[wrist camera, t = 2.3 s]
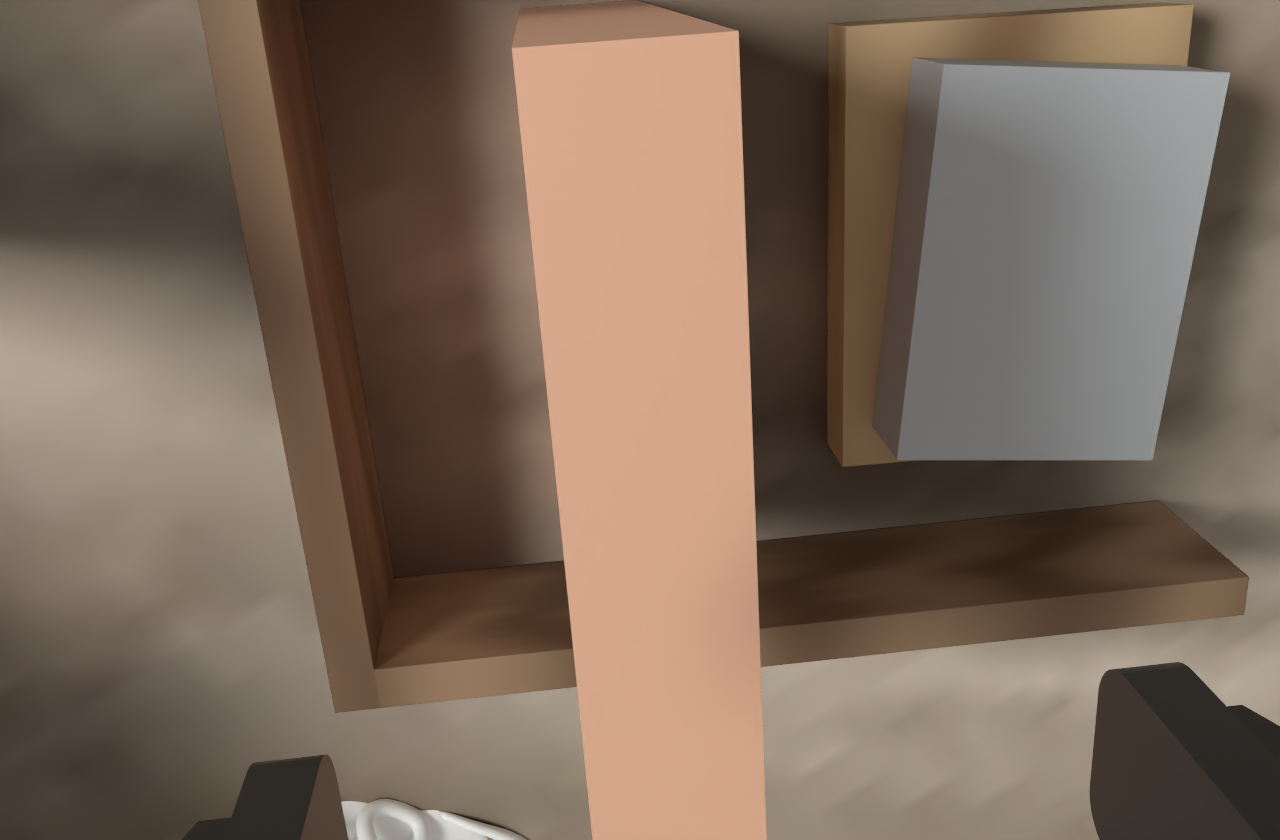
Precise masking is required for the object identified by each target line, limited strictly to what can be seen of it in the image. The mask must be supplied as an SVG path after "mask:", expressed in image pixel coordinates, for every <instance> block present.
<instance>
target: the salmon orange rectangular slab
mask: <svg viewBox="0 0 1280 840" xmlns="http://www.w3.org/2000/svg"><path fill="white" fill-rule="evenodd" d="M512 55H513V65H514V75H515V84H516V94H517V104H518V114H519V124H520V133H521V143H522V153H523V163H524V173H525V182H526V192H527V202H528V212H529V222H530V231H531V241H532V251H533V261H534V270H535V280H536V290H537V300H538V310H539V319H540V329H541V339H542V349H543V359H544V368H545V378H546V388H547V398H548V407H549V417H550V427H551V437H552V447H553V456H554V466H555V476H556V486H557V496H558V505H559V515H560V525H561V535H562V545H563V554H564V564H565V574H566V584H567V593H568V603H569V613H570V623H571V633H572V642H573V652H574V662H575V672H576V682H577V691H578V701H579V711H580V721H581V731H582V740H583V750H584V760H585V770H586V779H587V789H588V799H589V809H590V819H591V828H592V838H593V840H767V836H766V807H765V778H764V749H763V720H762V691H761V662H760V634H759V605H758V576H757V547H756V518H755V489H754V460H753V431H752V402H751V373H750V345H749V316H748V287H747V258H746V229H745V200H744V171H743V142H742V113H741V85H740V56H739V31H737V30H734V29H731V28H727V27H724V26H721V25H717V24H714V23H711V22H707V21H704V20H701V19H698V18H694V17H691V16H688V15H684V14H681V13H678V12H674V11H671V10H668V9H664V8H661V7H658V6H655V5H651V4H648V3H645V2H641V1H638V0H627V1H614V2H600V3H587V4H573V5H560V6H546V7H533V8H520V11H519V16H518V21H517V26H516V30H515V35H514V40H513V45H512Z"/></svg>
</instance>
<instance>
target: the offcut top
mask: <svg viewBox="0 0 1280 840" xmlns="http://www.w3.org/2000/svg"><path fill="white" fill-rule="evenodd" d="M1229 78H1230V72H1223V71H1216V70H1209V69H1202V68H1195V67H1188V66H1181V65H1158V64H1125V63H1091V62H1057V61H1023V60H989V59H955V58H921V57H912V67H911V76H910V85H909V94H908V103H907V112H906V122H905V131H904V140H903V149H902V158H901V167H900V177H899V186H898V195H897V204H896V213H895V222H894V232H893V241H892V250H891V259H890V268H889V277H888V287H887V296H886V305H885V314H884V323H883V332H882V342H881V351H880V360H879V369H878V378H877V387H876V397H875V406H874V415H873V424H872V427H873V428H874V429H875V431H876V432H877V433H878V435H879V436H880V438H881V439H882V440H883V442H884V443H885V444H886V446H887V447H888V449H889V450H890V451H891V453H892V454H893V455H894V457H895V458H896V460H1153V455H1154V450H1155V445H1156V440H1157V435H1158V430H1159V426H1160V421H1161V416H1162V411H1163V406H1164V401H1165V396H1166V391H1167V386H1168V381H1169V376H1170V371H1171V366H1172V361H1173V356H1174V351H1175V346H1176V341H1177V336H1178V331H1179V326H1180V321H1181V316H1182V311H1183V306H1184V301H1185V296H1186V291H1187V286H1188V281H1189V276H1190V271H1191V267H1192V262H1193V257H1194V252H1195V247H1196V242H1197V237H1198V232H1199V227H1200V222H1201V217H1202V212H1203V207H1204V202H1205V197H1206V192H1207V187H1208V182H1209V177H1210V172H1211V167H1212V162H1213V157H1214V152H1215V147H1216V142H1217V137H1218V132H1219V127H1220V122H1221V117H1222V112H1223V107H1224V103H1225V98H1226V93H1227V88H1228V83H1229Z"/></svg>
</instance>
